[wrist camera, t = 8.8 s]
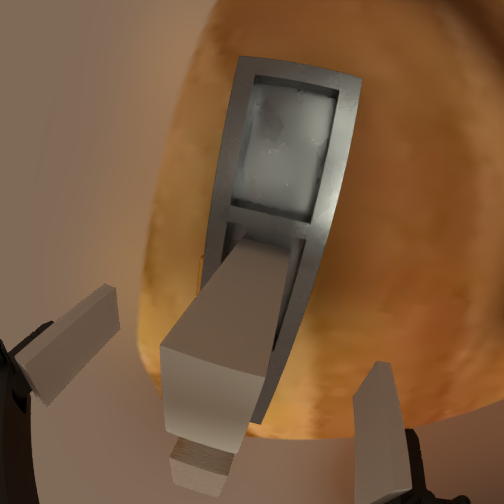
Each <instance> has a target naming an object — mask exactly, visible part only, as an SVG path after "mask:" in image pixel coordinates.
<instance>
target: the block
mask: <svg viewBox="0 0 504 504" xmlns="http://www.w3.org/2000/svg"><path fill="white" fill-rule="evenodd" d="M290 252H291V250H290V249H286V248H282V247H278V246H274V245H270V244H266V243H261V242H257V241H253V240H249V239H245V238H242V239H241V240H240V241H239V242H238V244H237V245H236V246H235V247H234V249H233V250H232V251H231V253H230V254H229V255H228V256H227V258H226V259H225V260H224V262H223V263H222V264H221V265H220V267H219V268H218V269H217V271H216V272H215V273H214V274H213V276H212V277H211V278H210V280H209V281H208V282H207V284H206V285H205V286H204V287H203V289H202V290H201V291H200V293H199V294H198V295H197V297H196V298H195V299H194V300H193V302H192V303H191V304H190V306H189V307H188V308H187V310H186V311H185V312H184V314H183V315H182V316H181V318H180V319H179V320H178V321H177V323H176V324H175V325H174V327H173V328H172V329H171V331H170V332H169V333H168V335H167V336H166V337H165V339H164V340H163V341H162V343H161V344H160V364H161V382H162V396H163V407H164V418H165V427H166V431H167V432H170V433H172V434H174V435H177V436H180V437H182V438H185V439H188V440H191V441H194V442H197V443H200V444H203V445H206V446H209V447H212V448H216V449H219V450H223V451H226V452H230V453H234V454H237V453H238V450H239V448H240V445H241V443H242V440H243V438H244V435H245V433H246V430H247V427H248V425H249V422H250V420H251V417H252V414H253V411H254V409H255V406H256V403H257V401H258V398H259V395H260V392H261V389H262V386H263V384H264V381H265V378H266V373H267V369H268V364H269V360H270V355H271V351H272V346H273V341H274V336H275V331H276V327H277V322H278V317H279V312H280V306H281V301H282V296H283V291H284V285H285V280H286V275H287V269H288V264H289V258H290Z"/></svg>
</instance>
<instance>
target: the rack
mask: <svg viewBox="0 0 504 504" xmlns="http://www.w3.org/2000/svg"><path fill="white" fill-rule="evenodd" d="M361 84H362V78H359V77H356V76H352V75H349V74H345V73H341V72H337V71H333V70H329V69H325V68H320V67H316V66H311V65H306V64H300V63H295V62H289V61H282V60H275V59H268V58H259V57H248V56H239V59H238V64H237V68H236V73H235V77H234V82H233V86H232V91H231V96H230V100H229V105H228V110H227V115H226V120H225V126H224V131H223V136H222V142H221V147H220V153H219V158H218V164H217V170H216V176H215V182H214V188H213V195H212V201H211V208H210V215H209V222H208V229H207V236H206V244H205V251H204V255H203V256H202V257H201V258H200V265H199V274H198V283H197V293H196V295H198V294H199V293H200V291H201V290H202V289H203V287H204V286H205V285H206V284H207V282H208V281H209V280H210V278H211V277H212V276H213V274H214V273H215V272H216V271H217V269H218V268H219V267H220V265H221V264H222V263H223V262H224V260H225V259H226V258H227V256H228V255H229V254H230V253H231V251H232V250H233V249H234V247H235V246H236V245H237V244H238V242H239V241H240V240H241V239H242V238H245V239H249V240H253V241H257V242H261V243H266V244H270V245H274V246H278V247H282V248H286V249H290V250H291V252H290V258H289V264H288V269H287V275H286V280H285V285H284V291H283V296H282V301H281V306H280V312H279V317H278V322H277V327H276V331H275V336H274V341H273V346H272V351H271V355H270V360H269V364H268V369H267V373H266V378H265V381H264V384H263V386H262V389H261V392H260V395H259V398H258V401H257V403H256V406H255V409H254V411H253V414H252V417H251V420H250V422H252V423H256V424H260V425H261V423H262V421H263V418H264V416H265V414H266V411H267V409H268V407H269V404H270V402H271V399H272V397H273V395H274V392H275V390H276V387H277V385H278V382H279V380H280V377H281V375H282V372H283V370H284V367H285V365H286V362H287V359H288V357H289V354H290V351H291V349H292V346H293V343H294V340H295V338H296V335H297V332H298V329H299V326H300V324H301V321H302V318H303V315H304V312H305V309H306V306H307V303H308V300H309V297H310V294H311V291H312V288H313V285H314V281H315V278H316V275H317V272H318V269H319V265H320V262H321V259H322V255H323V252H324V248H325V245H326V241H327V238H328V234H329V231H330V227H331V223H332V220H333V216H334V212H335V208H336V204H337V201H338V197H339V193H340V188H341V184H342V180H343V176H344V172H345V167H346V163H347V158H348V154H349V149H350V144H351V139H352V134H353V129H354V124H355V119H356V113H357V108H358V102H359V96H360V90H361ZM233 457H234V453H230V452H226V451H223V450H219V449H216V448H212V447H209V446H206V445H203V444H200V443H197V442H194V441H191V440H188V439H185V438H182V437H180V436H179V438H178V440H177V442H176V444H175V446H174V448H173V451H172V453H171V455H170V457H169V459H170V465H171V472H172V477H173V482H174V484H177V485H180V486H183V487H186V488H188V489H192V490H195V491H198V492H201V493H204V494H207V495H211V496H215V497H219V495H220V493H221V490H222V488H223V485H224V483H225V481H226V479H227V476H228V473H229V470H230V466H231V464H232V460H233Z"/></svg>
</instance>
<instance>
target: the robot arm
mask: <svg viewBox="0 0 504 504" xmlns="http://www.w3.org/2000/svg"><path fill="white" fill-rule="evenodd" d="M119 330H120V323H119V315H118V306H117V296H116V288H114V287H112V286H110V285H107V284H104V285H102V286H101V287H100V288H98V289H97V290H96V291H94V292H93V293H92V294H91V295H89V296H88V297H86V298H85V299H84V300H83V301H81V302H80V303H78V304H77V305H76V306H75V307H73V308H72V309H71V310H70V311H68V312H67V313H66V314H64V315H63V316H62V317H61V318H60V319H58V320H57V321H56V322H53V321H50V322H47V323H45V324H42V325H41V326H40V327H39V328H38V329H36V331H35V332H32V333H31V334H30V336H28V337H26V338H25V339H24V340H23V341H22V342H20V343H19V344H18V345H17V346H16V347H14V348H13V349H12V350H11V351H10V352H8V353H7V351H6V349H5V346H4V344H3V342H2V340H1V339H0V504H39V499H38V494H37V488H36V482H35V476H34V468H33V459H32V447H31V421H30V420H31V396H30V392H31V391H33V392H34V394H35V396H36V397H37V398H38V399H39V400H40V401H41V402H42V403H43V404H45V405H46V406H49V405H50V404H51V402H52V401H53V400H54V399H55V398H56V397H57V396H58V394H59V393H60V392H61V391H62V390H63V389H64V388H65V387H66V385H68V384H69V382H70V381H71V380H72V379H73V378H74V377H75V376H76V375H77V374H78V373H79V372H80V371H81V369H82V368H83V367H84V366H85V365H86V364H87V363H88V362H89V361H90V360H91V359H92V358H93V357H94V356H95V354H97V353H98V351H99V350H100V349H101V348H102V347H103V346H104V345H105V344H106V343H107V342H108V341H109V340H110V339H111V338H112V337H113V336H114V335H115V334H116V333H117V332H118V331H119ZM353 405H354V424H355V460H356V462H355V504H471V502H470V500H469V498H468V497H466V496H464V495H460V496H458V497H456V498H454V499H452V500H447V499H439V498H435V495H434V494H433V493H432V492H431V491H428V490H427V489H426V484H425V476H424V468H423V462H422V458H421V456H422V455H421V450H420V444H419V438H418V436H417V435H416V433H415V431H414V430H413V429H404V424H403V418H402V413H401V408H400V403H399V399H398V394H397V390H396V385H395V381H394V377H393V373H392V369H391V365H390V363H386V362H380V361H376V362H375V364H374V366H373V367H372V369H371V370H370V372H369V374H368V375H367V377H366V378H365V380H364V381H363V383H362V384H361V386H360V387H359V389H358V390H357V392H356V393H355V395H354V396H353Z"/></svg>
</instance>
